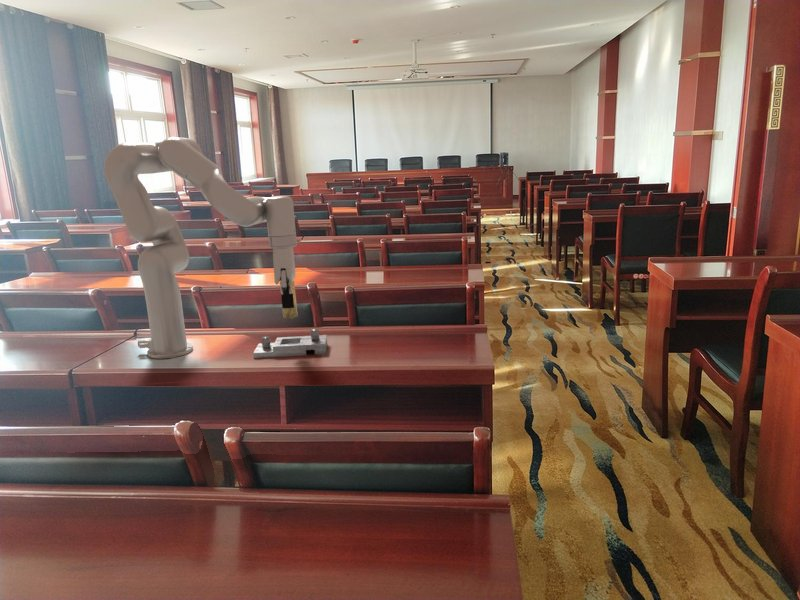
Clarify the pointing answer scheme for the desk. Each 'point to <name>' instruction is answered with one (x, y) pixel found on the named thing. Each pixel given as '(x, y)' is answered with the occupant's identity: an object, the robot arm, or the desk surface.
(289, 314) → the brass pin
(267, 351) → the slotted link plate
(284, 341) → the upper chain link
